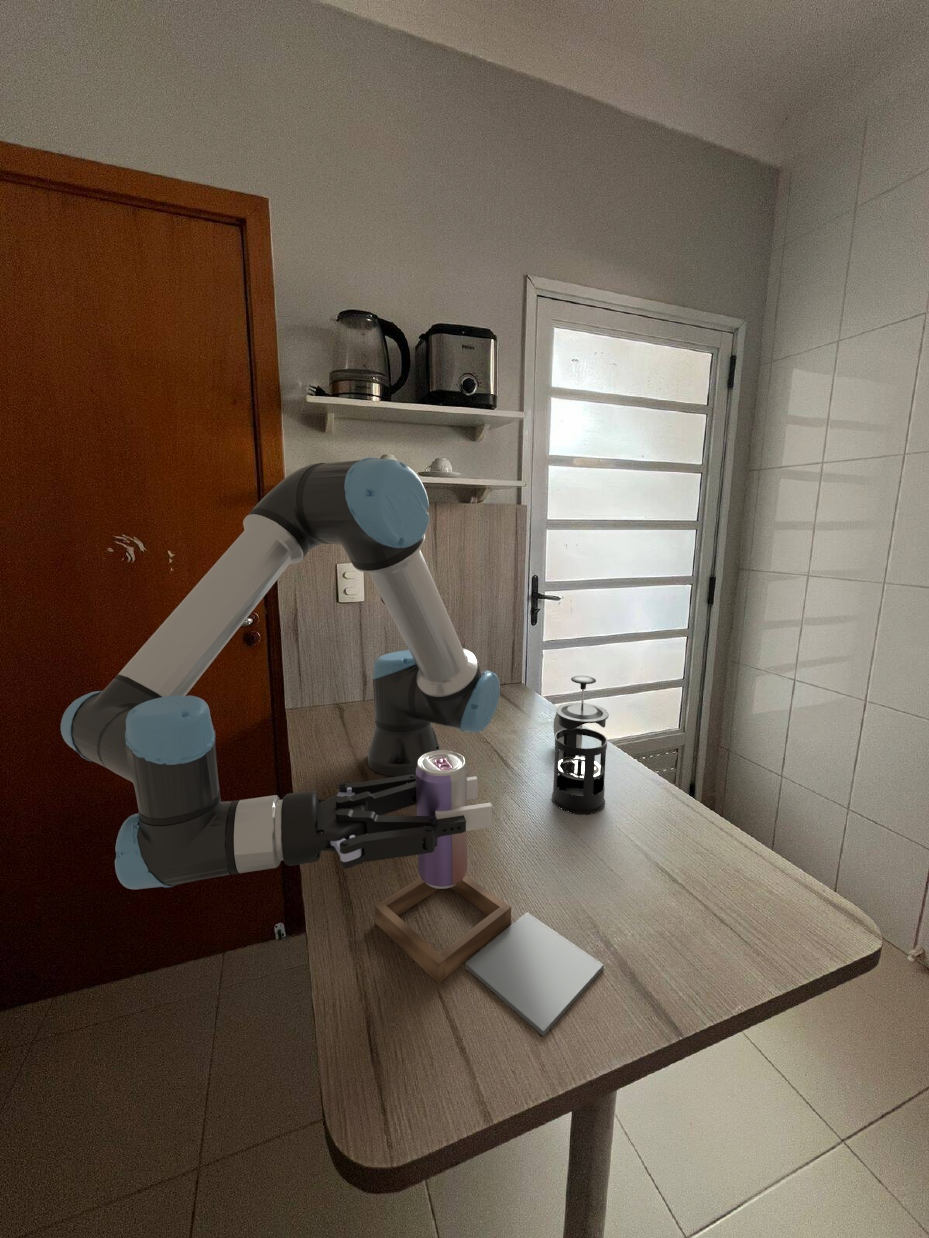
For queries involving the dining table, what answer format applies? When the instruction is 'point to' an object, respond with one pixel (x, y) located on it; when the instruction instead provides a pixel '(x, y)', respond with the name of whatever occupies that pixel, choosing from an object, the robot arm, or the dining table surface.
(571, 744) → the french press
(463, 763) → the beverage can
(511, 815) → the dining table surface
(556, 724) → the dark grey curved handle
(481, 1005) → the dining table surface
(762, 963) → the dining table surface
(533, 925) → the slate coaster
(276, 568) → the robot arm
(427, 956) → the walnut holder
